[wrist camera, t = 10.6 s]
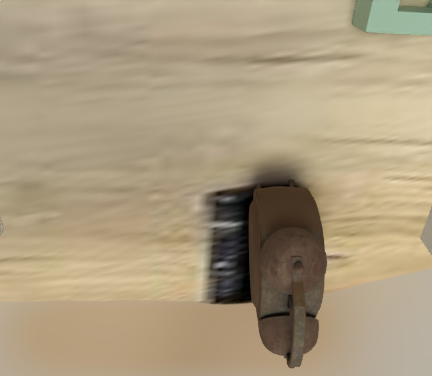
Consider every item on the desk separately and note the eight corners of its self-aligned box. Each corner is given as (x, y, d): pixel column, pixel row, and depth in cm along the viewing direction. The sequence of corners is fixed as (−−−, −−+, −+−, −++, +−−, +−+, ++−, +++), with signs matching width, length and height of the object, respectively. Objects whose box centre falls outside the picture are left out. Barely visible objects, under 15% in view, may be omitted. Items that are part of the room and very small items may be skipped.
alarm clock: (301, 254, 53) (337, 399, 36) (247, 255, 54) (257, 399, 36) (311, 156, 46) (361, 281, 29) (247, 158, 46) (260, 282, 29)
